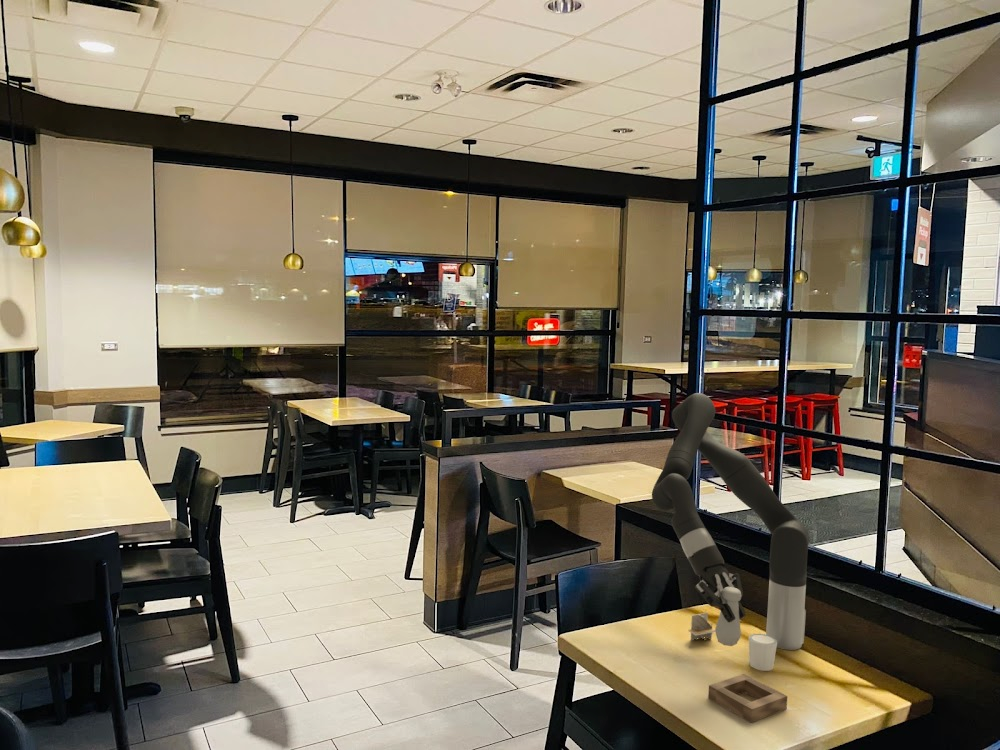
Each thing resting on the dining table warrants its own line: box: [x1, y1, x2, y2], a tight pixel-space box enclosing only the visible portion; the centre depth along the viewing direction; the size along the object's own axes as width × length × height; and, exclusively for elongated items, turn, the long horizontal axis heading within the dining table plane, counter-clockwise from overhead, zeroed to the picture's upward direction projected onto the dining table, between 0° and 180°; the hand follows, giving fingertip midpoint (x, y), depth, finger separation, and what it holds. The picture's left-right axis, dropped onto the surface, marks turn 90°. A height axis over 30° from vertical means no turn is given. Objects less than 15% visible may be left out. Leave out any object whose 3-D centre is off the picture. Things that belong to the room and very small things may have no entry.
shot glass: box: [748, 633, 778, 672], centre depth 188 cm, size 7×7×7 cm
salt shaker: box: [714, 587, 742, 647], centre depth 174 cm, size 6×6×13 cm
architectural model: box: [688, 612, 716, 641], centre depth 201 cm, size 3×7×7 cm, turn 116°
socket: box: [707, 673, 788, 723], centre depth 169 cm, size 12×12×3 cm
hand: (737, 619), depth 172 cm, fingers closed on salt shaker, 3 cm apart
